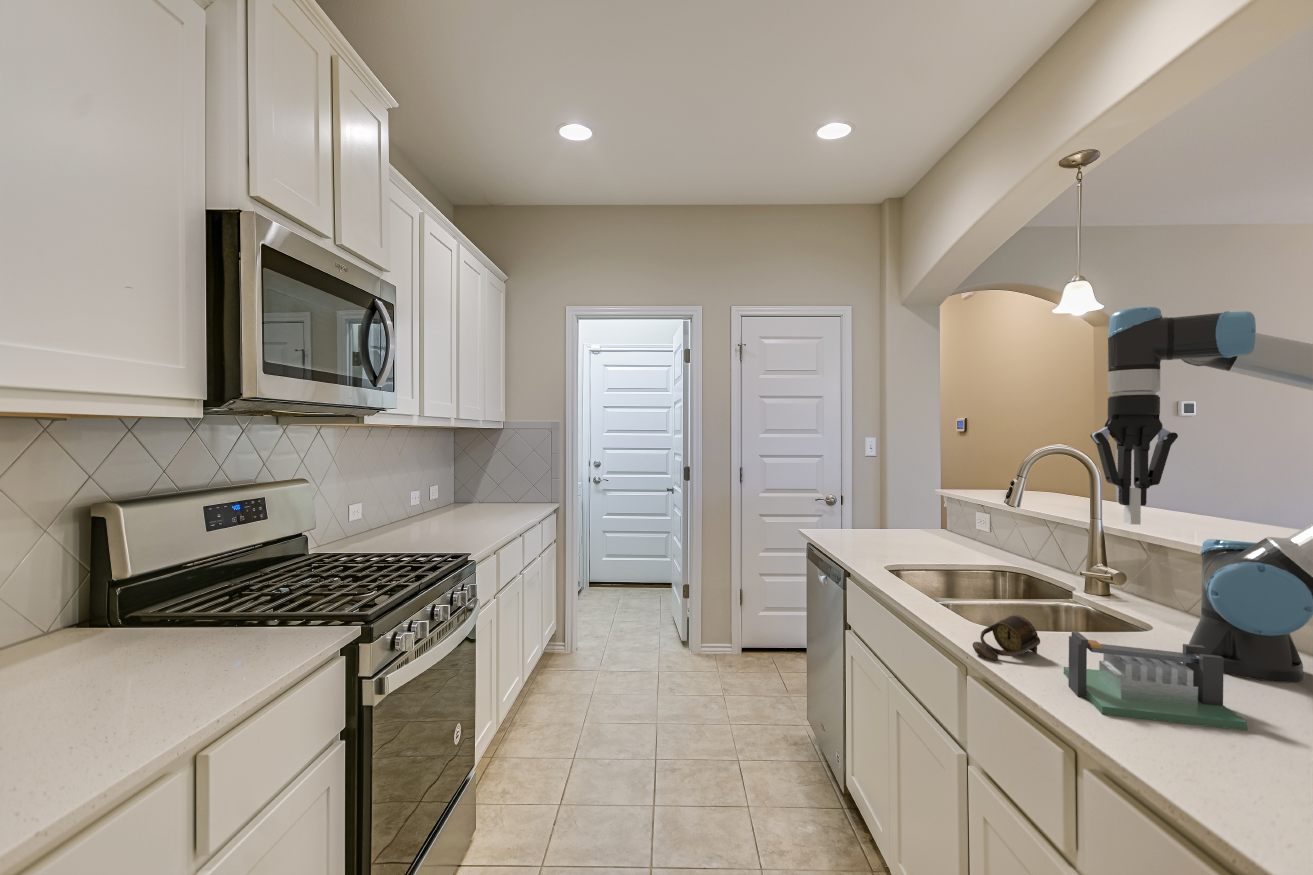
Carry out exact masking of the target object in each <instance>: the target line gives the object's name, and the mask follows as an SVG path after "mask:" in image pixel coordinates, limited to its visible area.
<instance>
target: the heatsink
mask: <svg viewBox="0 0 1313 875" xmlns="http://www.w3.org/2000/svg"><path fill="white" fill-rule="evenodd" d="M1098 662H1099V663H1098V665H1099V666H1098V667H1099V669H1098V670H1099V678H1100V679H1101V680H1102V681H1103V682H1104V683H1105V684H1106V685H1107V686H1108V687H1109V688H1110V689H1111V690H1112V691H1114V692H1115V693H1116V694H1117V695H1118V696H1119V697H1120V698H1122V699H1132V700H1141V701H1151V702H1160V703H1170V704H1179V705H1189V706H1198V687H1197V686H1196V685H1194V684H1193V670H1191V669H1190V668H1188V667H1187V666H1185V665H1184V664H1182V663H1183V662H1175V661H1166V660H1157V659H1149V658H1140V657H1131V656H1122V655H1113V654H1104V653H1103V660H1099V661H1098Z"/></svg>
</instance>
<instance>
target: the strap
mask: <svg viewBox="0 0 1313 875" xmlns="http://www.w3.org/2000/svg"><path fill="white" fill-rule="evenodd" d="M1087 650H1089V651H1090V652H1091V653H1096V654H1103V655H1104V654H1113V655H1122V656H1131V657H1140V658H1149V659H1157V660H1166V661H1175V662H1181V663H1183V662H1184V663H1193V664H1199V655H1197V654H1195V653H1192V654H1189V653H1183V652H1178V651H1171V650H1170V651H1169V650H1161V649H1153V648H1152V649H1151V648H1141V647H1133V646H1125V645H1114V644H1105V643H1099V641H1097V640H1094V639H1088V645H1087Z"/></svg>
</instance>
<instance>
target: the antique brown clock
mask: <svg viewBox="0 0 1313 875" xmlns="http://www.w3.org/2000/svg"><path fill="white" fill-rule="evenodd" d="M990 632H992V634H993V635H992V636H993V637H994V640H995V642H996V643H997V644H998V646H999V647H1000V648H1001V649H1002V650H1001V649H999V648H996V647H993V646H992V645H990V644H988V643H987V642H986V640H985V639H984V637H985V635H986V634H989V633H990ZM979 639H980V641H974V642H973V643H972V647H973V649H974V652H975V654H977V655H978V656H979V657H981V658H983V659H985V660H988V661H996V660H998V659H999V656H1004V657H1017V656H1020V655H1022V654H1025V653H1026V652H1028V651H1030V652H1031V653H1034V654H1038V645H1040V644H1041V639H1040V637H1039V636H1038V632H1037V630H1036V628H1035V627H1034V625H1033V623H1032V622H1030V621H1029V620H1028V619H1027V618H1025V617H1024V616H1022V615H1019V614H1012V615H1010V616H1008V617H1007V618H1005V619H1001V620H999V621H997V622H995V623H993V624H992V625H990V626H988V627H986V628H984V629H983V630H982V631H981V632H980V638H979Z"/></svg>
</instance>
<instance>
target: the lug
mask: <svg viewBox="0 0 1313 875" xmlns="http://www.w3.org/2000/svg"><path fill="white" fill-rule="evenodd" d="M1088 640H1089V639H1088V638H1087V637H1085V636H1084V635H1083V634H1082V633H1080V632H1079V631H1071V635H1068V667H1069V679H1068V688H1070V689H1071V691H1072V692H1073V693H1074V694H1075V695H1076V696H1077V697H1079V698H1086V676H1087V669H1088V667H1087V662H1088V661H1087V657H1088V656H1087V654H1088V653H1087V652H1088V648H1087V645H1088Z"/></svg>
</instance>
